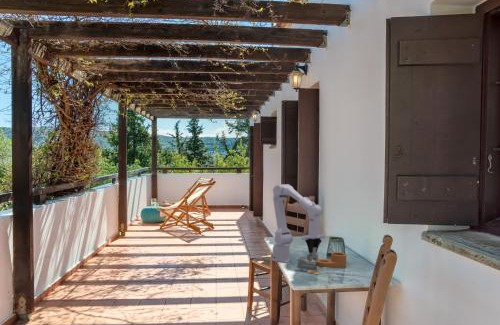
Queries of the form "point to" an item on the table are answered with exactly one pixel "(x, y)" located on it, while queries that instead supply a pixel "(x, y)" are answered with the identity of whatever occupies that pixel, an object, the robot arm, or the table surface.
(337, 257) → the bracket
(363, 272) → the table surface
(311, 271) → the pad
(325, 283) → the table surface
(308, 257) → the slotted grey block
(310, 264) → the vise
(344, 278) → the table surface
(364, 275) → the table surface
